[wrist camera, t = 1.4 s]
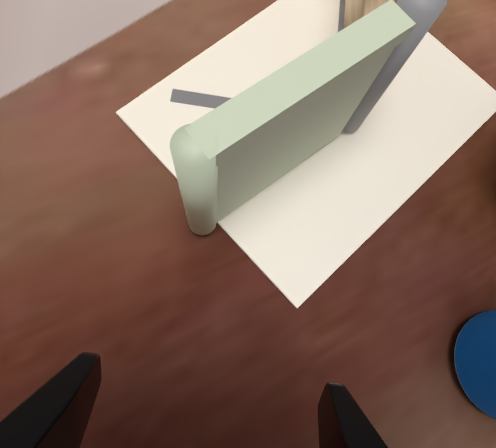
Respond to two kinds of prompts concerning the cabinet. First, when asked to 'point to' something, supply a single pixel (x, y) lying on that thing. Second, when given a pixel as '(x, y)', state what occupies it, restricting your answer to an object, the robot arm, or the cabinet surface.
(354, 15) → the brown flat square block
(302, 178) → the card
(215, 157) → the folding fence panel
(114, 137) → the cabinet surface
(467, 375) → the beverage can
